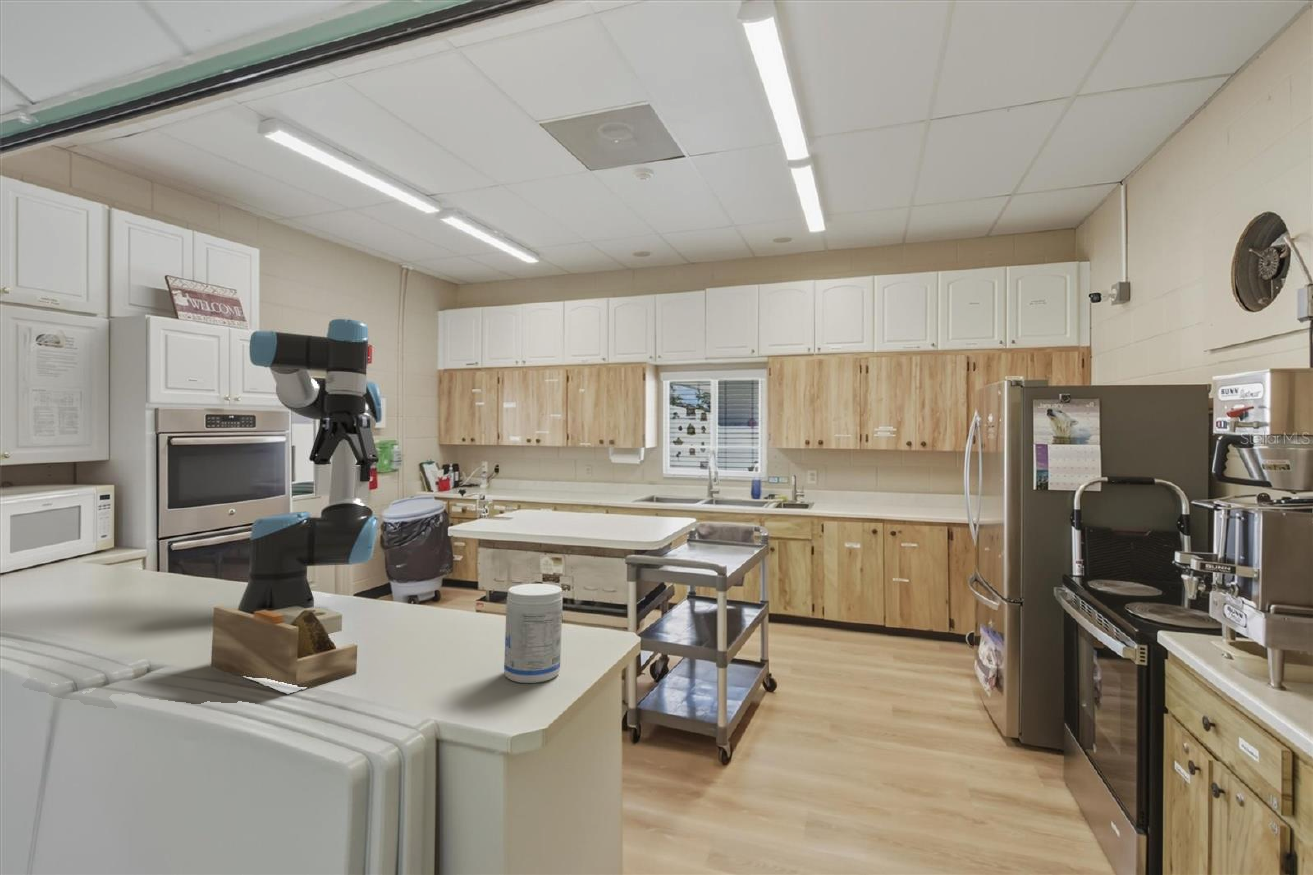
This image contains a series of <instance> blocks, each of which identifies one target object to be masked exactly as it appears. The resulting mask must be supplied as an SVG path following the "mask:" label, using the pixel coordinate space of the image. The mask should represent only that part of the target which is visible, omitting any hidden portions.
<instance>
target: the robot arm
mask: <svg viewBox="0 0 1313 875" xmlns="http://www.w3.org/2000/svg"><path fill="white" fill-rule="evenodd" d="M368 345H369V327H368V325H367V324H365V323H364V322H363V321H360V320H353V319H349V318H348V319H346V318H336V319H335V318H334V319H332V320H330V321H329V323H328V328H327V333H326V336H317V335H307V334H298V333H290V332H289V333H288V332H280V331H275V330H270V331H269V330H256V331H253V332H252V333H251V335H250V338H249V360H250V362H251V364H252V365H254V366H256V367H264V368H267V369H268V368H269V371H270V372H271V373H270V374H272V376H273V379H274V381H275V383H276V385H275V394H276V396H277V399H278V400H279V402H280V403H281V404H282V405H283V406H284V407H285V408H287V409H288V410H290V411H292V412H293V413H296V414H298V415H299V416H302V417H305V418H308V419H312V420H318V421H319V425H318V430H317V433H316V437H315V439H314V442H313V445H312V448H311V450H310V455H309V457H308V460H309V461H310V462H313V463H314V465H315V481H314V482H315V483H314V484H315V485H314V496H316V497H317V496H320V497H321V496H329V498H328V505H326V506H325V507H323V508H322V509H321V512H320V516H319V517H312V515H311V513H310V512H309V511H295V512H287V513H285V512H284V513H279V514H274V515H273V514H272V515H267V516H262V517H259V518H257V519H255V520H254V521H253V523H252V524H251V534H250V538H249V540H250V548H249V549H250V550H249V551H250V553H249V567H248V568H249V569H248V570H249V571H248V582H247V585H246V587H245V590H244V592H243V595H242V596H241V599H240V601H239V604H238V606H237V610H238V611H242V612H246V613H249V614H253V615H254V612H255V611H261V610H267V611H273V610H278V609H283V608H288V607H294V606H299V607H303V608H310V607H315V599H314V595H313V592H312V588H311V585H310V582H309V581H308V567H317V566H318V567H319V566H340V565H343V566H345V565H349V566H352V565H356V564H366V563H368V562H369V561H370V560H372V558H373V554H374V549H375V546H376V545H375V544H376V539H377V532H378V527H379V517H378V516H377V515H374V514H373V512H374V511H373V509H372V508H371V506H369V505H368V504H367V501H368V500H367V499H369V498H370V480H371V468H372V466H373V464H374V463H376V464H377V463H378V462H379V461H380V460H379V455H378V451H377V447H376V444H375V441H374V440H375V439H374V436H373V433H372V431H373V430H374V429H375V428H376V425H377V423H380V422H382V418H383V417H382V416H383V414H382V410H383V409H382V399H381V391H380V387H379V385H378V384H377V383H376V382H373V381H367V366H368V361H369V355H368V349H369V348H368V347H369V346H368ZM310 371H316V372H317V371H320V372H325V374H326V376H325V377H315V376H314V377H312V376H311V372H310ZM330 460H331V461H330Z"/></svg>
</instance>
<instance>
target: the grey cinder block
mask: <svg viewBox="0 0 1313 875" xmlns="http://www.w3.org/2000/svg"><path fill="white" fill-rule="evenodd" d="M304 610H308V611H311V612H313V613H314V615H315V616H316V617H317V619H319V621H320V623H321V624H322V625H323V626H324V628H325V630H326V632H327V633H328V635H330V634H335V633H338V632H342V631H343V613H341V612H338V611H334V610H329V609H325V608H320V607H317V606H314V607H310V608H303V607H299V606H294V607H288V608H283V609H278V610H273V611H271V612H275V613H279V614H282V615H284V623H285V624H289V625H290V624H291V623H292V622H293V621H294V620H295V619H296V618H297V617H298V616H299V615H300V614H301V613H302V612H303V611H304Z"/></svg>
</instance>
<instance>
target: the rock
mask: <svg viewBox="0 0 1313 875" xmlns="http://www.w3.org/2000/svg"><path fill="white" fill-rule="evenodd" d="M290 625H292V626H296V627H299V632H298V654H297V659H300V658H303V657H307V656H311V655H315V654H318V653H322V652H326V651H330V650H333V649H337V646H336V645H335V643H334V641H332V639H331V638H330V636H329V635H330V634H328V633H327V632H326V630H325V628H324V626H323V625H322V624H321V623H320V621H319V619H317V617H316V616H315V615H314V613H313V612H311V611H308V610H304V611H303V612H302V613H301V614H300V615H299V616H298V617H297V618H296V619H295V620H294V621H293V622H292V623H291V624H290Z"/></svg>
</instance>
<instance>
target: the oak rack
mask: <svg viewBox="0 0 1313 875" xmlns="http://www.w3.org/2000/svg"><path fill="white" fill-rule="evenodd" d="M212 620H213V622H212V639H211V641H212V642H211V655H210V657H211V659H210V660H211V661H210V666H212V667H215V668H218V669H220V670H222V671H225V672H228V673H230V674H234V675H236V676H238V677H241V676H246V677H252V678H267V679H271V680H275V681H278V682H284V683H287V684H292V685H297V686H298V687H307V688H308V689H312V688H314V687H317V686H320V685H325V684H327V683H330V682H333V681H337V680H340V679H342V678H346V677H349V676H353V675H356V674H357V665H358V663H357V662H358V659H357V658H358V644H349V645H345V646H341V647H336V649H333V650H330V651H326V652H322V653H318V654H315V655H311V656H307V657H303V658H300V659H297V654H298V632H299V627H296V626H292V625H289V624H285V623H284V615H282V614H279V613H275V612H271V611H267V610H261V611H255V612H254V615H253V614H249V613H246V612H242V611H238V609H235V608H231V607H227V606H223V605H220V606H214V607H213V619H212Z"/></svg>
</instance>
